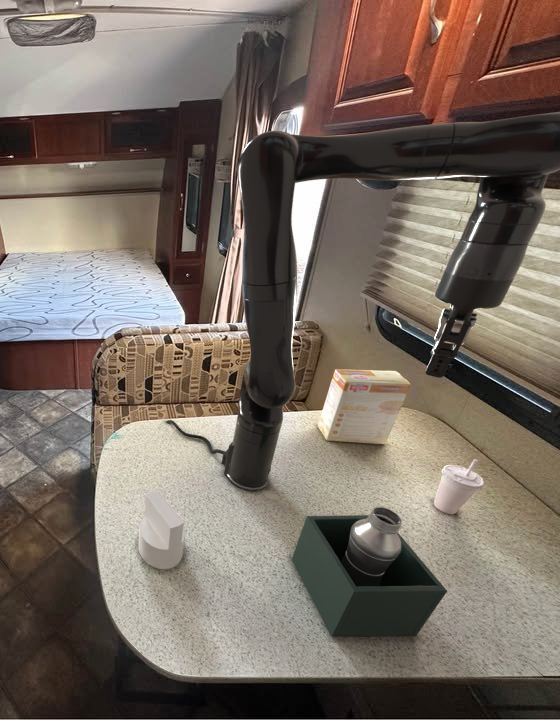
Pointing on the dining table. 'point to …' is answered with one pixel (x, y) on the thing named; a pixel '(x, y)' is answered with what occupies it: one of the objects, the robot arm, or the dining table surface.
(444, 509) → the smoothie
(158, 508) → the base with upright slab
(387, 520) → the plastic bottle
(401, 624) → the trash bin
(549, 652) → the dining table surface
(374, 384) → the coffeecake box
